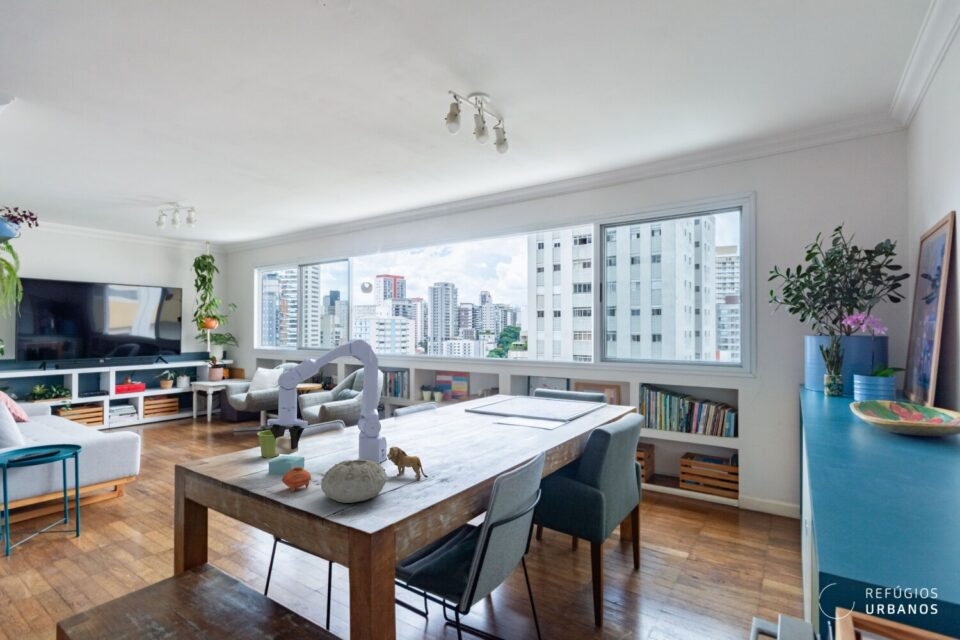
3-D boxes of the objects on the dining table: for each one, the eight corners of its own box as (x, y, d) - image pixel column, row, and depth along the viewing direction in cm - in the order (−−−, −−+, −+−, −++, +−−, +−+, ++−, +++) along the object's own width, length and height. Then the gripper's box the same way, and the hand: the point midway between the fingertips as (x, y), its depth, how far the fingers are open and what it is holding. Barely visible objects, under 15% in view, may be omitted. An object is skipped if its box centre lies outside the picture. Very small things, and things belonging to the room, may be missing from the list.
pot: (308, 481, 146) (309, 461, 145) (311, 495, 140) (313, 474, 138) (279, 484, 143) (281, 463, 142) (282, 498, 136) (283, 477, 135)
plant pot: (285, 451, 183) (285, 429, 183) (283, 458, 174) (283, 434, 175) (258, 453, 180) (258, 430, 181) (255, 460, 171) (255, 435, 172)
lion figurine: (384, 475, 154) (384, 447, 154) (393, 471, 159) (393, 444, 159) (424, 481, 148) (424, 452, 149) (432, 476, 153) (432, 448, 153)
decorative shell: (307, 500, 131) (307, 464, 131) (355, 483, 146) (356, 450, 146) (353, 514, 122) (354, 474, 122) (399, 494, 137) (400, 459, 137)
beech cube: (298, 451, 161) (298, 436, 161) (288, 454, 156) (288, 439, 156) (285, 449, 162) (285, 435, 162) (275, 453, 157) (275, 438, 157)
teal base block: (304, 468, 162) (304, 456, 162) (291, 475, 154) (291, 463, 154) (282, 467, 164) (282, 455, 164) (268, 474, 156) (268, 461, 156)
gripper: (261, 407, 158) (260, 449, 157) (298, 410, 154) (297, 452, 153) (275, 404, 164) (275, 444, 164) (312, 406, 160) (311, 447, 160)
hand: (287, 448), depth 159 cm, fingers closed on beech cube, 5 cm apart
